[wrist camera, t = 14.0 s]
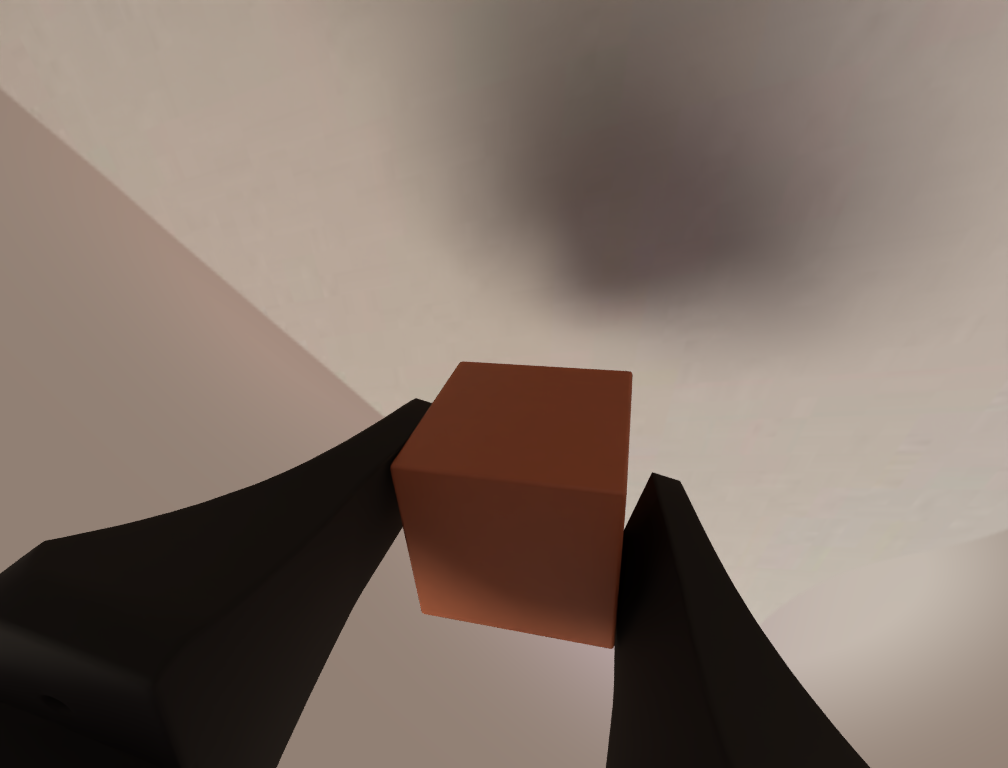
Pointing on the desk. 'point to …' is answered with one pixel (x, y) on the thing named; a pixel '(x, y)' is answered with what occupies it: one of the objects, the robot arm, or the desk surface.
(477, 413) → the block
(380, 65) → the desk surface
